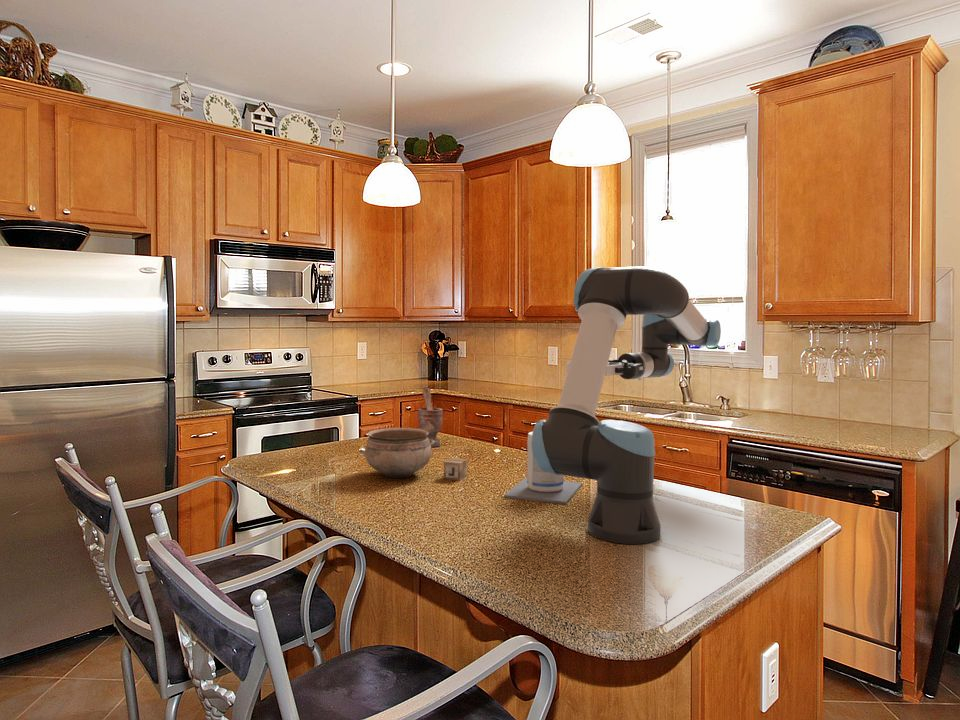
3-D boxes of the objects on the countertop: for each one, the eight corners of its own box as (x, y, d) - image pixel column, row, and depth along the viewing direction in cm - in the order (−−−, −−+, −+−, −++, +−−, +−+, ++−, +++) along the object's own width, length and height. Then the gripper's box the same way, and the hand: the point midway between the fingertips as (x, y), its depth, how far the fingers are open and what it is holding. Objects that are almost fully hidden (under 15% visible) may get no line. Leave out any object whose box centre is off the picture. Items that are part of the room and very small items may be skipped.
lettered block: (459, 481, 180) (459, 463, 180) (443, 479, 182) (443, 461, 182) (466, 476, 185) (466, 459, 185) (450, 475, 187) (450, 458, 187)
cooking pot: (378, 489, 170) (379, 443, 170) (342, 475, 185) (342, 433, 184) (453, 475, 187) (453, 433, 186) (414, 463, 201) (415, 424, 200)
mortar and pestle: (408, 443, 233) (409, 388, 231) (428, 441, 238) (429, 386, 237) (426, 448, 223) (426, 391, 222) (446, 446, 229) (447, 389, 227)
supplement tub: (570, 490, 170) (572, 434, 169) (542, 495, 164) (543, 437, 163) (547, 482, 178) (548, 429, 177) (519, 486, 172) (520, 432, 171)
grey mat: (566, 504, 159) (566, 501, 159) (503, 497, 164) (504, 494, 164) (582, 485, 178) (582, 482, 178) (525, 479, 183) (525, 477, 183)
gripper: (671, 382, 179) (622, 386, 165) (600, 375, 198) (551, 378, 184) (671, 355, 178) (623, 357, 165) (600, 350, 198) (552, 352, 184)
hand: (585, 368), depth 175 cm, fingers open, 13 cm apart
